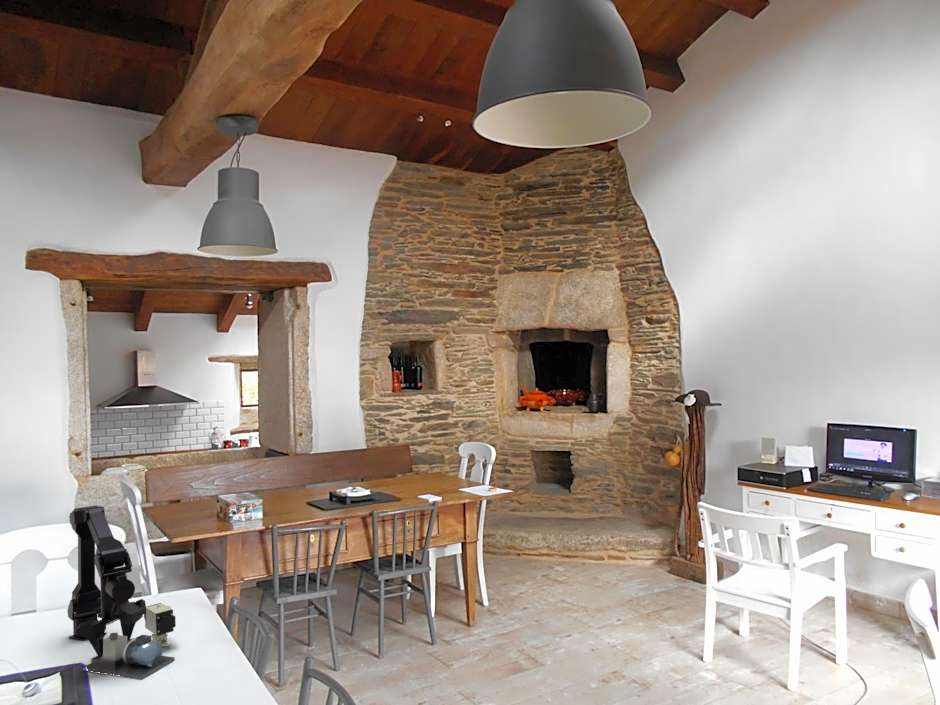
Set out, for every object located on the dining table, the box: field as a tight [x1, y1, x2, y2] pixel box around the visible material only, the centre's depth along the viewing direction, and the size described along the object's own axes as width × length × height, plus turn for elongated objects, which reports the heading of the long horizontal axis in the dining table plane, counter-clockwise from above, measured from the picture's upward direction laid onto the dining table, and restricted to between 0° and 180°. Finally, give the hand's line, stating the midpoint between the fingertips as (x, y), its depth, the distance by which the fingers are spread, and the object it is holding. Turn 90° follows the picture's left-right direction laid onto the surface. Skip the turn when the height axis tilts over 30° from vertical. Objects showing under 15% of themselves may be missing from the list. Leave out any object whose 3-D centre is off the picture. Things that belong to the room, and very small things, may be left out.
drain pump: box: [101, 632, 127, 661], centre depth 201 cm, size 5×4×7 cm
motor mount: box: [85, 634, 176, 681], centre depth 199 cm, size 20×12×8 cm, turn 71°
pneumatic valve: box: [143, 602, 177, 648], centre depth 213 cm, size 6×12×12 cm, turn 44°
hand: (114, 650), depth 201 cm, fingers open, 9 cm apart
